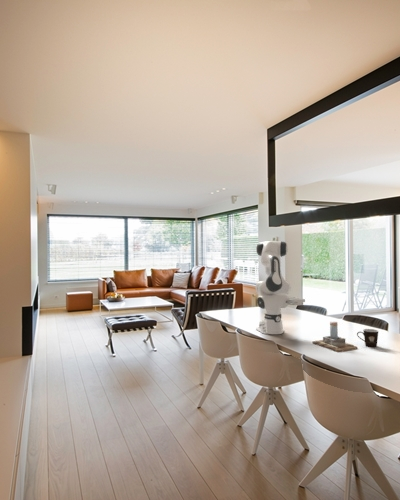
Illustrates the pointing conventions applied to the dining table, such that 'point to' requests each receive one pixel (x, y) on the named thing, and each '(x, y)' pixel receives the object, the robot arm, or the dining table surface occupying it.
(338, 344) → the assembly jig
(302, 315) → the dining table surface
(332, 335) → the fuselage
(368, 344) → the coffee mug
